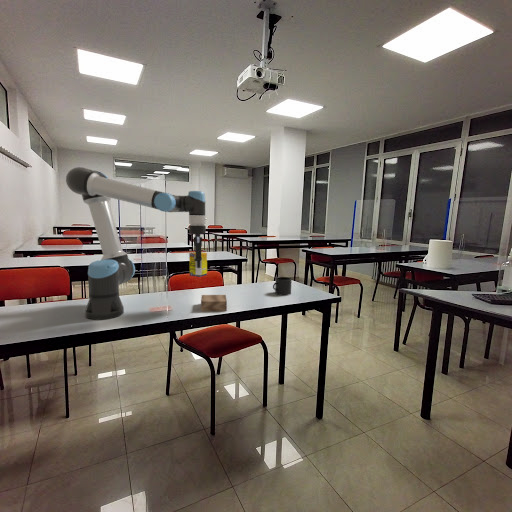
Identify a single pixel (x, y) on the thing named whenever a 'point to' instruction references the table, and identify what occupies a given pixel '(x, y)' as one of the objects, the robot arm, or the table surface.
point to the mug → (282, 285)
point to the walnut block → (213, 303)
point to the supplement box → (193, 264)
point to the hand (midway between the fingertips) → (198, 272)
